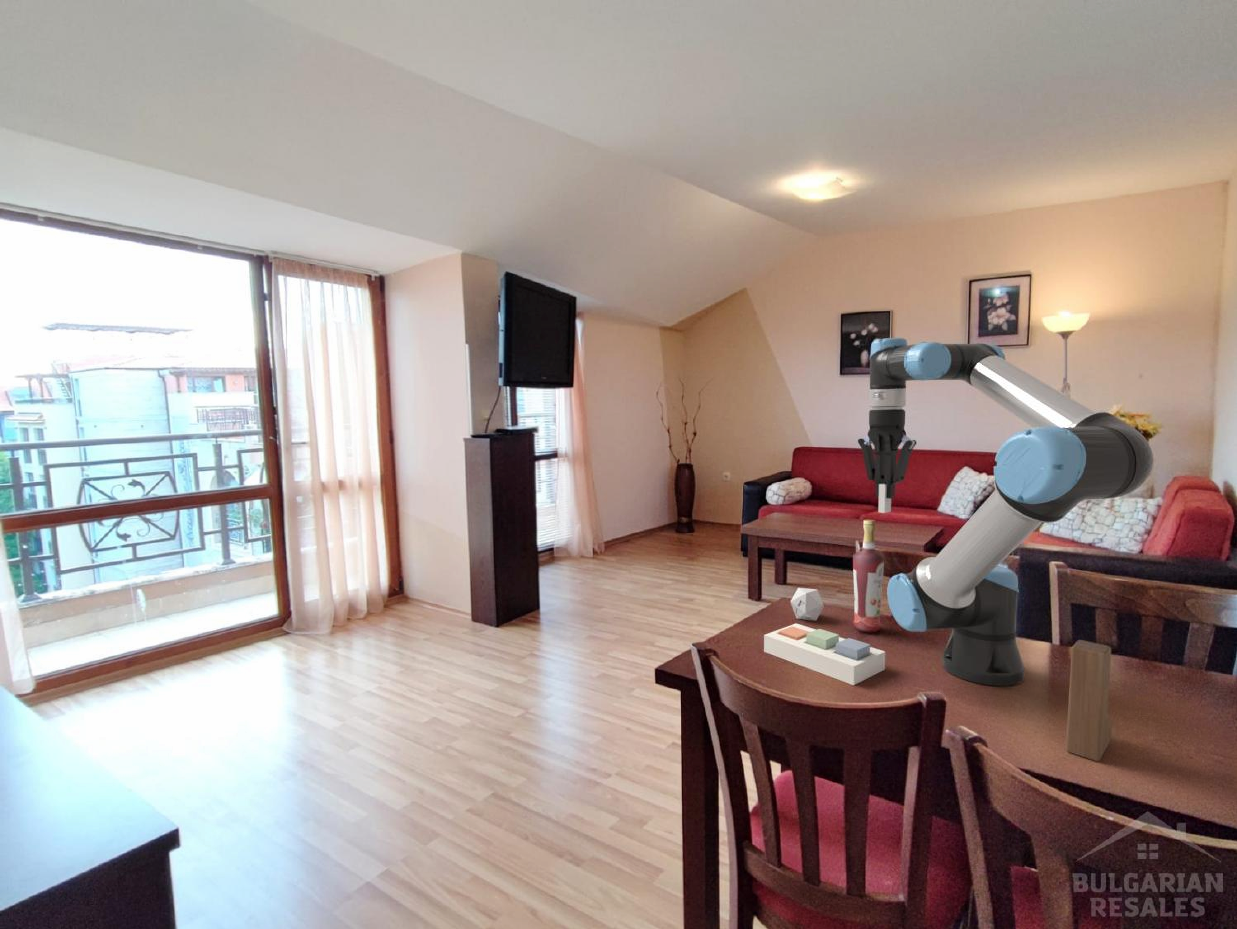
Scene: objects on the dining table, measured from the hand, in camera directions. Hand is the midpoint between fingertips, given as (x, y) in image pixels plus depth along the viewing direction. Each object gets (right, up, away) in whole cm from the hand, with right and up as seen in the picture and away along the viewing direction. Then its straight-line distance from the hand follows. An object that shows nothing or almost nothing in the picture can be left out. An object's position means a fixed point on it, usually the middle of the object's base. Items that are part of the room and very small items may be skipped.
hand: (884, 512), depth 144 cm
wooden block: (+17, -36, -39) cm, 56 cm away
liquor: (+2, -31, +16) cm, 35 cm away
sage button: (-15, -30, -3) cm, 34 cm away
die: (-10, -31, +25) cm, 41 cm away
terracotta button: (-20, -31, +3) cm, 37 cm away
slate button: (-11, -31, -9) cm, 34 cm away
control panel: (-15, -33, -3) cm, 36 cm away
